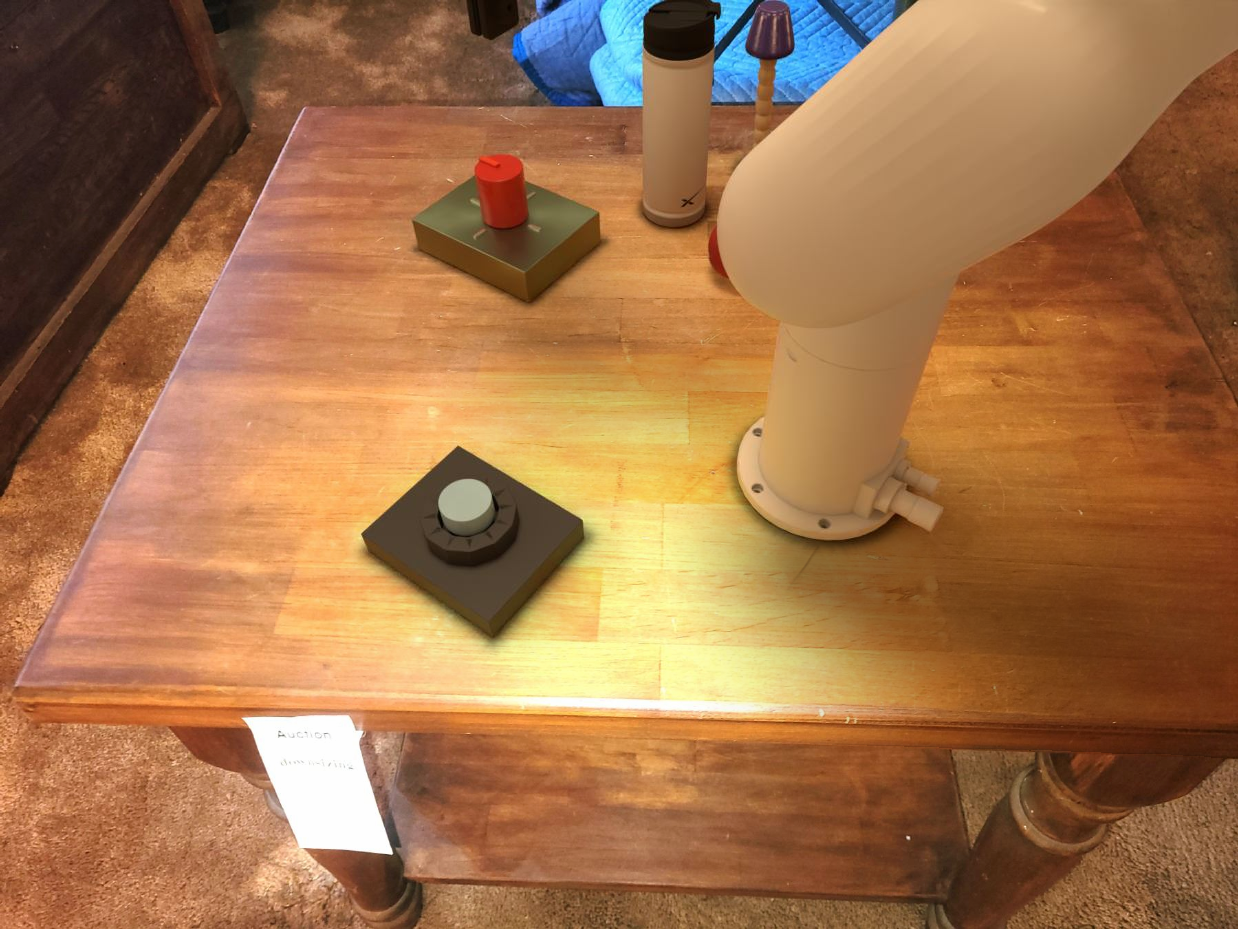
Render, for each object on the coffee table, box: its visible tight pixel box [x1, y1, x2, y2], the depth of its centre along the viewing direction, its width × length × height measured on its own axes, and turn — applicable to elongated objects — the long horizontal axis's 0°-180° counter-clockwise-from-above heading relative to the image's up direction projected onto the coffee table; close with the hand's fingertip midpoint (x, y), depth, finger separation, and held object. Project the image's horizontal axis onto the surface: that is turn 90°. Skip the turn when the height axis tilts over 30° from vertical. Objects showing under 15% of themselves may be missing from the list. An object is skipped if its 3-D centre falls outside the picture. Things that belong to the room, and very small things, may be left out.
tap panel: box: [411, 174, 602, 303], centre depth 84 cm, size 14×11×4 cm
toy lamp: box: [740, 0, 796, 162], centre depth 86 cm, size 5×5×17 cm
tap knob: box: [473, 153, 529, 228], centre depth 81 cm, size 4×4×5 cm
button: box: [438, 479, 495, 536], centre depth 60 cm, size 4×4×2 cm
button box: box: [360, 445, 585, 639], centre depth 62 cm, size 12×10×4 cm
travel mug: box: [641, 0, 722, 228], centre depth 81 cm, size 6×7×20 cm
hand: (495, 29), depth 60 cm, fingers closed
